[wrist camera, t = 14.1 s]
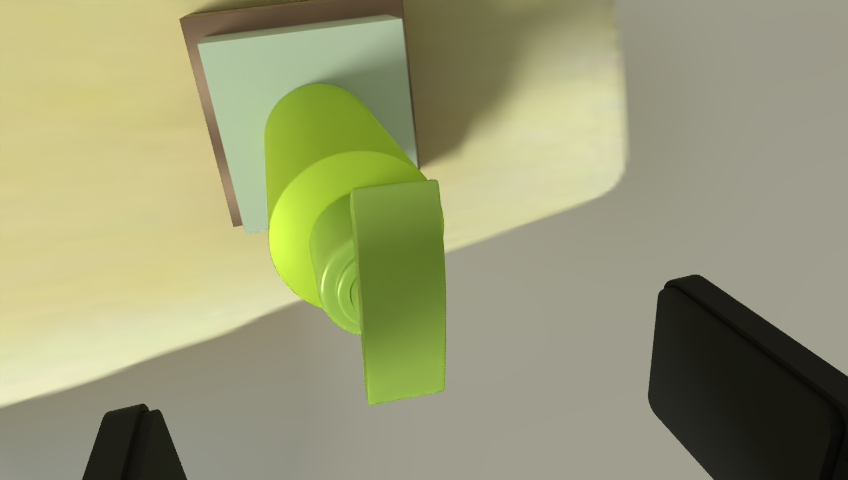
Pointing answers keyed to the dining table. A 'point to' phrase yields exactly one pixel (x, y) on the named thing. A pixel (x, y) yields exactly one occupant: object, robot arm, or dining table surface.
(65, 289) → the dining table surface
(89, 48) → the dining table surface
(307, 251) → the soap dispenser
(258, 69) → the pale green square tile
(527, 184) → the dining table surface
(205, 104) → the riser base
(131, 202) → the dining table surface
